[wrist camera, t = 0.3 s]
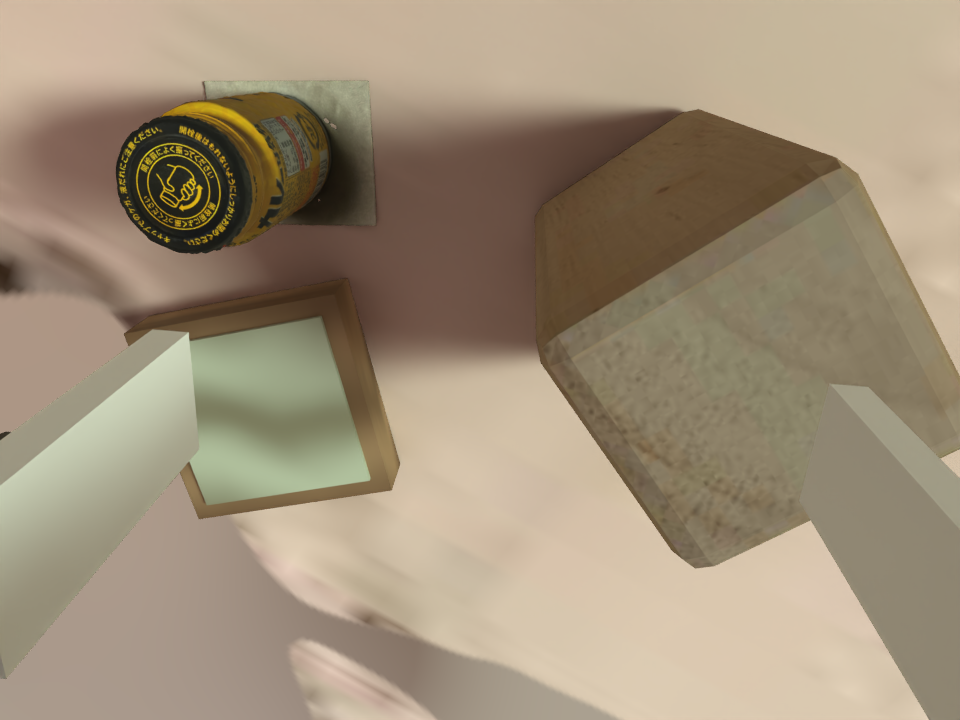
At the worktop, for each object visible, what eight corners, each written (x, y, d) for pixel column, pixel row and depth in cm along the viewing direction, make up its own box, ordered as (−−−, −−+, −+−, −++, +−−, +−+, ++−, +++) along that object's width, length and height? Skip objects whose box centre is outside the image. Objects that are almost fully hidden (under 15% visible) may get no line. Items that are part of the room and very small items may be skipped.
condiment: (205, 81, 39) (73, 93, 28) (369, 80, 38) (302, 92, 27) (224, 223, 41) (111, 285, 30) (377, 224, 41) (319, 288, 30)
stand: (149, 316, 44) (120, 335, 41) (347, 278, 42) (333, 296, 39) (218, 492, 48) (197, 521, 45) (400, 464, 46) (390, 493, 43)
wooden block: (696, 99, 37) (856, 146, 19) (788, 263, 40) (1005, 444, 22) (527, 211, 40) (522, 349, 22) (623, 358, 43) (692, 591, 24)
